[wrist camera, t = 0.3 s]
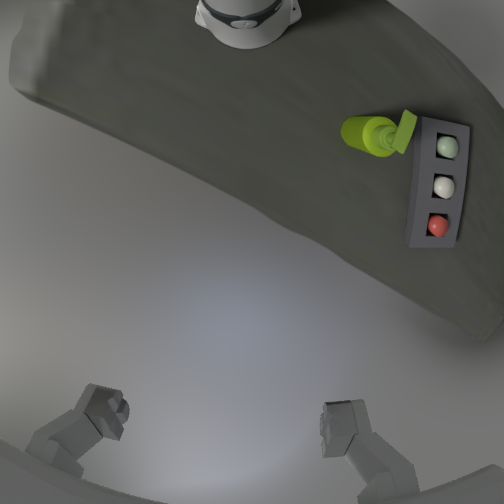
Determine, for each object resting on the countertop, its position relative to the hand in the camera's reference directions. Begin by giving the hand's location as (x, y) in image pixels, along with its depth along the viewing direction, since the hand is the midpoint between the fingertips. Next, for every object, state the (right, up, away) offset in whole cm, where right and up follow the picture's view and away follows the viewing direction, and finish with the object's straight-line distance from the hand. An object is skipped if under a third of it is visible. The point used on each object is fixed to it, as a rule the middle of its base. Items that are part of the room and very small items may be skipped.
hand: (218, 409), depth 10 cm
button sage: (+38, +27, +36) cm, 59 cm away
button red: (+39, +12, +42) cm, 59 cm away
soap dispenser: (+20, +28, +38) cm, 51 cm away
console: (+39, +20, +40) cm, 59 cm away
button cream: (+38, +19, +39) cm, 58 cm away
